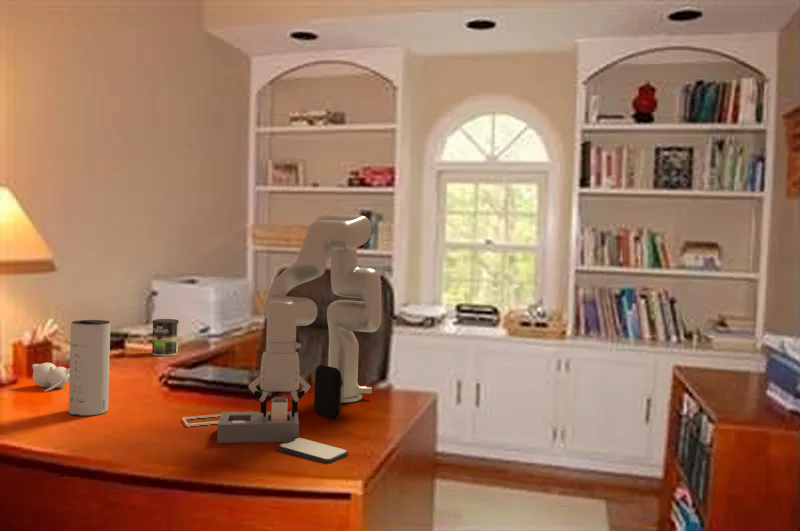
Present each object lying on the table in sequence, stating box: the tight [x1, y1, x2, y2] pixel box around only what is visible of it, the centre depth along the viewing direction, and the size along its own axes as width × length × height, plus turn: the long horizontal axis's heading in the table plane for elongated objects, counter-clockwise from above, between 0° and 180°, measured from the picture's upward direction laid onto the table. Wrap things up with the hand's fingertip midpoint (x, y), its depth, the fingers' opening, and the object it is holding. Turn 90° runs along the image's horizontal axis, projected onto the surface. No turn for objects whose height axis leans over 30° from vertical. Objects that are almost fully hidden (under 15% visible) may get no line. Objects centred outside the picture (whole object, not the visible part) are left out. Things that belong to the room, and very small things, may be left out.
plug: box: [270, 396, 288, 421], centre depth 178 cm, size 4×4×9 cm
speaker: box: [68, 319, 111, 417], centre depth 192 cm, size 11×10×26 cm
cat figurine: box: [31, 362, 70, 393], centre depth 218 cm, size 9×11×12 cm
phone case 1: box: [181, 413, 221, 428], centre depth 188 cm, size 7×1×15 cm
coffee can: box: [151, 318, 180, 357], centre depth 283 cm, size 10×10×14 cm
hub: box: [216, 410, 300, 444], centre depth 177 cm, size 20×12×5 cm, turn 100°
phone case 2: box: [277, 437, 349, 464], centre depth 165 cm, size 9×2×16 cm
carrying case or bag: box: [313, 364, 343, 420], centre depth 196 cm, size 11×3×15 cm, turn 51°
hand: (278, 415), depth 178 cm, fingers open, 6 cm apart
